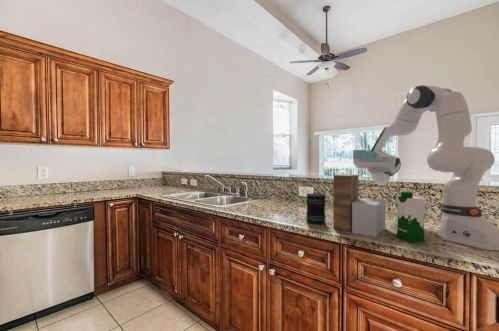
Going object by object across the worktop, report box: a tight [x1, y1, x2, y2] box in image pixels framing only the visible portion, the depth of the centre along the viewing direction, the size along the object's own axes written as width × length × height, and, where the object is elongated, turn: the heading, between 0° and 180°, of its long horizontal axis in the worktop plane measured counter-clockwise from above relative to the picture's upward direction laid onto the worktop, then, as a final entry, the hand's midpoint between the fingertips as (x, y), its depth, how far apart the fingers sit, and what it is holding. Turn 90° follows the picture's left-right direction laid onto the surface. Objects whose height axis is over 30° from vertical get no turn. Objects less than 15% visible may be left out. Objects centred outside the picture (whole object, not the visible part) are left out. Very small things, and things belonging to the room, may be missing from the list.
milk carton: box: [395, 191, 428, 244], centre depth 100 cm, size 9×9×20 cm
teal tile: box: [352, 149, 377, 160], centre depth 118 cm, size 26×4×4 cm, turn 140°
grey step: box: [351, 197, 386, 238], centre depth 114 cm, size 18×10×14 cm, turn 140°
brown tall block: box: [332, 173, 359, 233], centre depth 119 cm, size 12×8×26 cm, turn 140°
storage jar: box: [305, 192, 326, 226], centre depth 129 cm, size 10×10×15 cm
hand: (370, 154), depth 125 cm, fingers closed on teal tile, 4 cm apart
